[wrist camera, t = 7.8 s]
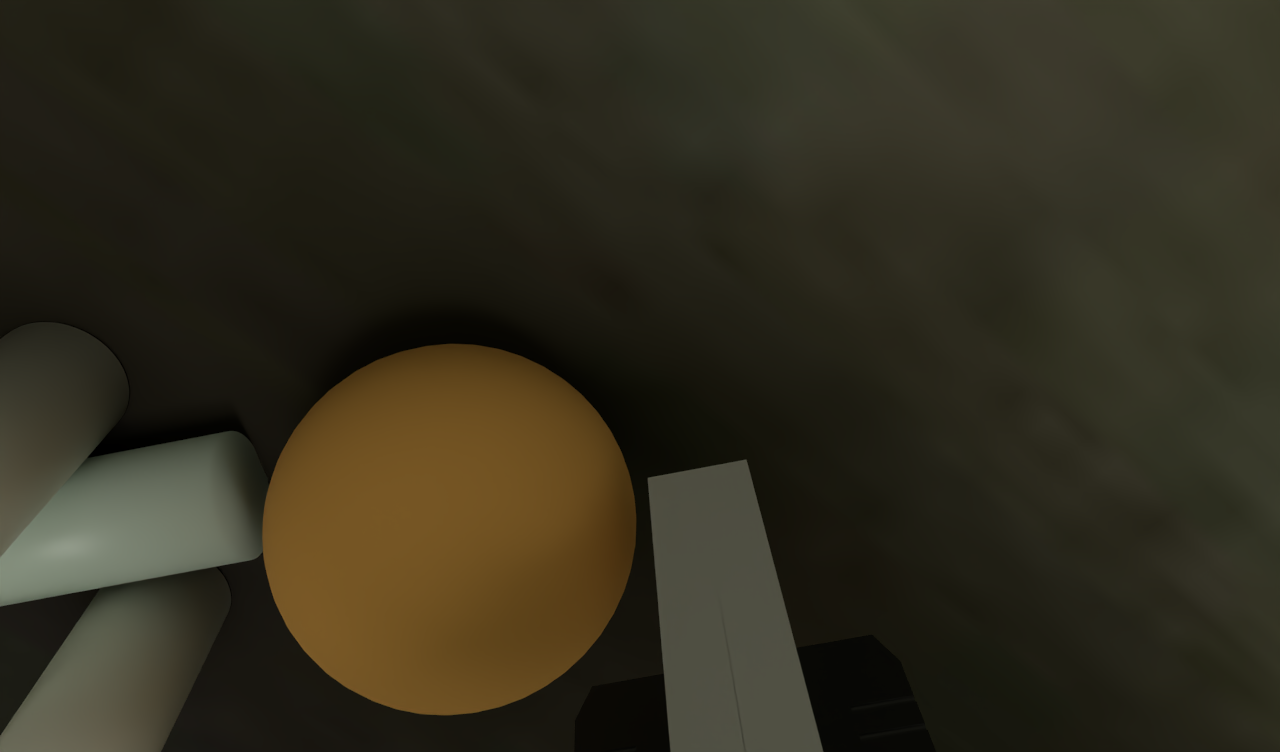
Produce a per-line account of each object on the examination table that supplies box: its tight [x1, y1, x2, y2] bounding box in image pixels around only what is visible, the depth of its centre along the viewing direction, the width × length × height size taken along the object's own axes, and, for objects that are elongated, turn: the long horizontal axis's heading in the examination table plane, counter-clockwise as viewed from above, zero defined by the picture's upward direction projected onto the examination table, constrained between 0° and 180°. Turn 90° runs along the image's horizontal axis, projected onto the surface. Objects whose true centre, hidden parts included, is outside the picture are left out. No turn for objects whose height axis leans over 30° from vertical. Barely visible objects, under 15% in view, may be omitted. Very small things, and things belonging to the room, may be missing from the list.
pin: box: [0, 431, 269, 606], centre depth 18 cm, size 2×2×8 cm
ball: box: [262, 344, 636, 715], centre depth 16 cm, size 6×6×6 cm
